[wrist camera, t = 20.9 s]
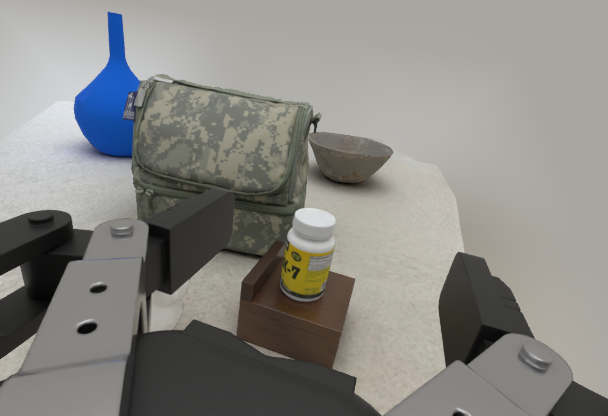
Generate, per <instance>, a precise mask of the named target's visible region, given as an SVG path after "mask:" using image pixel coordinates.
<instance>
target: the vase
mask: <svg viewBox="0 0 608 416" xmlns="http://www.w3.org/2000/svg"><path fill="white" fill-rule="evenodd" d="M108 28H109V29H108V31H109V49H110V57H109V62H108V63H107V66H106V67H105V68H104V69H103V70H102V72H101V73H100V74H99V75H98V76H97V77H96V78H95V79H94V80H93V81H92V82H91V83H90V84H89V85H88V86H87V87H86V88H85V89H84V90H82V91H81V92H80V93H79V94H78V95H77V96H76V98H75V104H74V113H75V119H76V121H77V123H78V125H79V127H80V129H81V131H82V133H83V135H84V136H85V137H86V138H87V139H88V141H89V142H90V143H91V144H92V145H93V146H94V147H95V148H96V149H98V150H99V151H100V152H102V153H104V154H108V155H112V156H121V157H129V156H132V149H133V147H132V145H133V123H134V121H132V120H126V119H124V120H123V115H124V110H125V105H126V100H127V96H128V93H129V92H135V91H137V89H138V87H139V85H140V81H139V80H138V78H137V77H136V76H135V75H134V74H133V72H132V71H131V70H130V68H129V66H128V64H127V62H126V59H125V47H124V35H123V23H122V15H121V14H116V13H111V12H108Z"/></svg>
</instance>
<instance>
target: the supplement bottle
mask: <svg viewBox="0 0 608 416" xmlns="http://www.w3.org/2000/svg"><path fill="white" fill-rule="evenodd" d="M292 224H293V227H292V228H291V229H290V230H289V232H288V235H287V240H286V246H285V253H284V259H283V265H282V272H281V278H280V287H281V290H282V291H283V292H284V293H285V294H286V295H287V296H288V297H290V298H291V299H293V300H296V301H301V302H311V301H314V300H317V299H319V298H320V297H321V296H322V295H323V293H324V290H325V287H326V282H327V278H328V273H329V269H330V265H331V260H332V256H333V251H334V247H335V239H334V237H333V234H334V230H335V224H336V219H335V217H334V216H333V215H331V214H330V213H328V212H326V211H323V210H319V209H314V208H302V209H299V210H297V211H296V212H295V215H294V219H293V223H292Z"/></svg>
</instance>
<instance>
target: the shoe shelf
mask: <svg viewBox="0 0 608 416" xmlns="http://www.w3.org/2000/svg"><path fill="white" fill-rule="evenodd" d="M284 249H285V242H281V241H278V240H276V241H275V242H274V243H273V245H272V246H271V247H270V248H269V249H268V251H267V252H266V253H265V254H264V255H263V257H262V258H261V259H260V260H259V262H258V263H257V264H256V265H255V266H254V268H253V269H252V270H251V271H250V272H249V274H248V275H247V276H246V277H245V278H244V280H243V281H242V286H241V297H240V298H241V299H240V308H239V317H238V327H237V337H238V338H240V339H242V340H245V341H248V342H250V343H253V344H256V345H259V346H261V347H264V348H267V349H270V350H272V351H275V352H278V353H281V354H283V355H286V356H289V357H292V358H295V359H297V360H300V361H308V362H314V363H317V364H320V365H322V366H325V367H328V368H331V369H332V367H333V363H334V359H335V356H336V352H337V348H338V344H339V340H340V337H341V333H342V329H343V325H344V321H345V317H346V314H347V310H348V306H349V302H350V298H351V294H352V290H353V286H354V283H355V279H354V278H351V277H347V276H344V275H341V274H337V273H334V272H331V271H329V273H328V278H327V282H326V287H325V290H324V293H323V295H322V296H321V297H320V298H319V299H317V300H314V301H311V302H301V301H296V300H293V299H291V298H290V297H288V296H287V295H286V294H285V293H284V292H283V291H282V290H281V287H280V278H281V272H282V265H283V259H284V257H283V256H284Z"/></svg>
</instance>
